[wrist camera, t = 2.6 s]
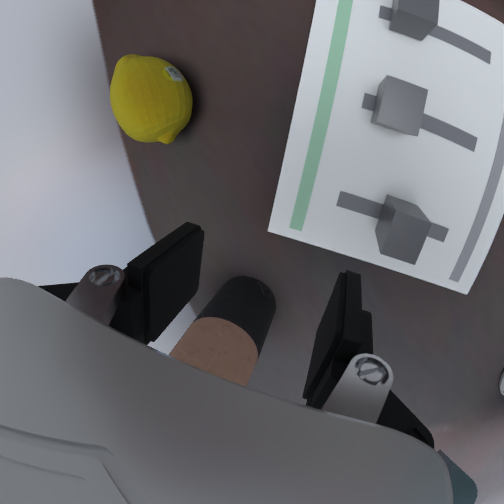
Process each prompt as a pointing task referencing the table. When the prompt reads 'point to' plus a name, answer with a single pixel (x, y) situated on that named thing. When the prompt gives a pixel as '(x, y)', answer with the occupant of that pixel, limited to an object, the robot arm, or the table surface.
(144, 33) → the table surface
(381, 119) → the block
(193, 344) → the travel mug
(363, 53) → the breaker panel
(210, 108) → the table surface
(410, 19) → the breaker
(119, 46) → the table surface
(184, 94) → the lemon
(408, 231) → the block
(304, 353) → the table surface
